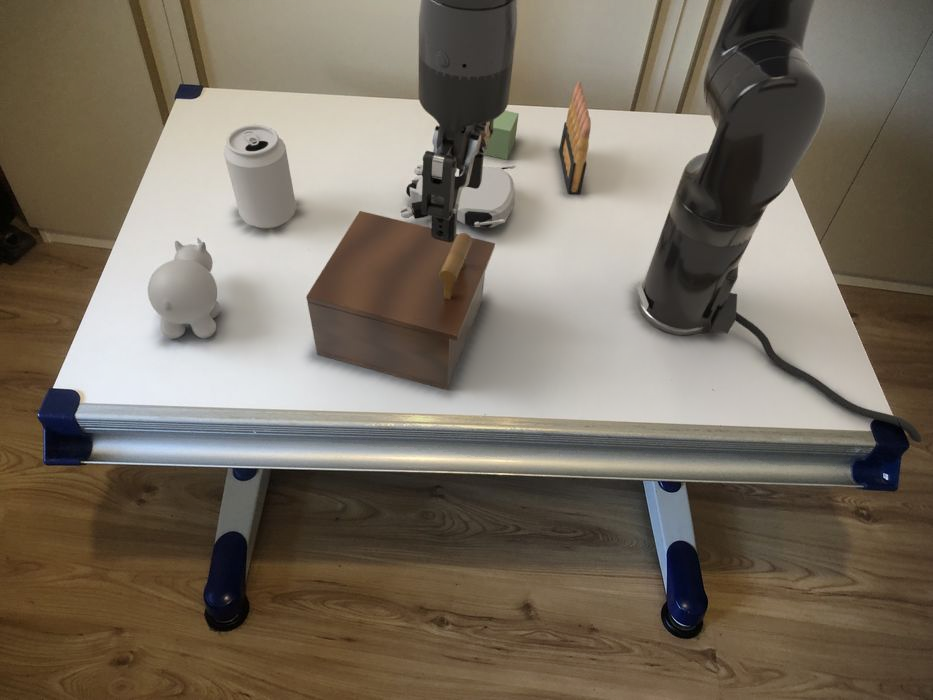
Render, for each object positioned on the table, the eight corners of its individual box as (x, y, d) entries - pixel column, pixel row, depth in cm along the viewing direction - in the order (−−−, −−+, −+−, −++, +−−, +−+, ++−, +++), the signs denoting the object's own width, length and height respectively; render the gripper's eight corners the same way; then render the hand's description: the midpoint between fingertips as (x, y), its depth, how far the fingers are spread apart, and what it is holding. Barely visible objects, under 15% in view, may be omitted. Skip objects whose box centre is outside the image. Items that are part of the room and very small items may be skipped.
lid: (494, 248, 78) (498, 213, 74) (457, 340, 69) (459, 306, 65) (360, 215, 81) (357, 180, 77) (306, 301, 72) (300, 266, 68)
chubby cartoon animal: (240, 272, 86) (226, 219, 79) (217, 346, 78) (199, 294, 72) (182, 269, 86) (163, 216, 79) (154, 343, 78) (129, 291, 72)
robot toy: (398, 234, 93) (508, 244, 91) (395, 208, 90) (509, 217, 88) (416, 179, 101) (518, 187, 99) (414, 153, 97) (519, 161, 96)
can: (255, 239, 90) (236, 162, 81) (231, 208, 94) (210, 131, 84) (306, 219, 93) (294, 143, 84) (281, 190, 97) (266, 113, 87)
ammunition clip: (580, 194, 100) (596, 120, 90) (567, 194, 99) (582, 120, 90) (570, 150, 106) (585, 77, 97) (558, 150, 106) (572, 77, 97)
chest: (482, 299, 85) (487, 246, 78) (446, 390, 76) (449, 339, 69) (364, 270, 87) (360, 216, 81) (316, 354, 78) (307, 302, 72)
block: (515, 141, 107) (518, 113, 103) (507, 160, 104) (510, 131, 100) (484, 135, 108) (486, 106, 104) (475, 153, 105) (477, 124, 101)
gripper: (487, 104, 49) (473, 268, 62) (533, 18, 58) (512, 177, 70) (389, 83, 50) (394, 248, 63) (448, 1, 59) (443, 161, 71)
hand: (457, 210), depth 66 cm, fingers open, 8 cm apart
